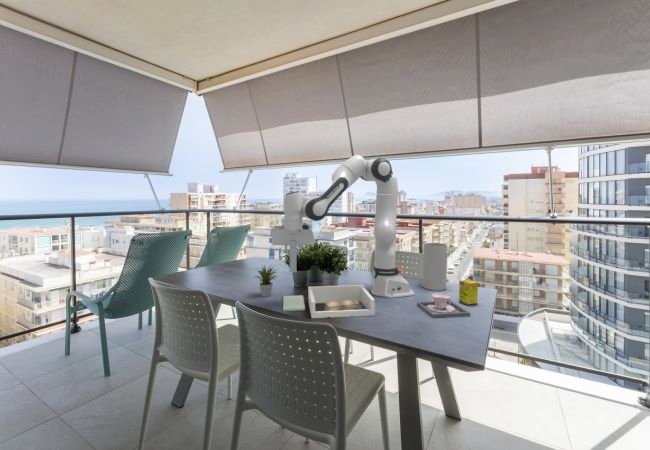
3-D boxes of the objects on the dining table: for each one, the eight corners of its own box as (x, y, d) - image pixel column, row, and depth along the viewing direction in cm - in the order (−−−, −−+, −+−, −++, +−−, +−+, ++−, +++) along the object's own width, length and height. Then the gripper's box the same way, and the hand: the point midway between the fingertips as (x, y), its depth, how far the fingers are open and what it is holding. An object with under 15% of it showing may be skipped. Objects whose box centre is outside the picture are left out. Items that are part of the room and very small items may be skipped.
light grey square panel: (296, 272, 152) (296, 242, 151) (289, 272, 152) (289, 242, 151) (295, 265, 166) (295, 238, 165) (289, 265, 166) (289, 238, 165)
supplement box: (458, 302, 162) (459, 280, 161) (468, 301, 164) (468, 279, 163) (467, 306, 156) (468, 283, 155) (477, 304, 158) (478, 282, 157)
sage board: (303, 297, 171) (303, 295, 171) (305, 310, 151) (305, 308, 151) (283, 297, 170) (283, 296, 170) (283, 311, 150) (283, 308, 150)
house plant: (274, 300, 165) (273, 268, 164) (248, 299, 168) (247, 267, 167) (283, 292, 179) (282, 262, 178) (259, 291, 182) (258, 262, 181)
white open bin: (363, 300, 166) (363, 284, 165) (374, 315, 144) (374, 297, 143) (308, 302, 163) (308, 286, 162) (311, 318, 141) (311, 300, 140)
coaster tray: (450, 303, 160) (450, 300, 159) (470, 316, 143) (470, 312, 143) (417, 305, 158) (417, 302, 157) (432, 317, 141) (432, 314, 141)
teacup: (422, 308, 154) (422, 295, 153) (436, 303, 161) (436, 290, 161) (445, 315, 144) (446, 301, 144) (459, 309, 152) (460, 296, 152)
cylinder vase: (448, 291, 180) (449, 246, 178) (424, 290, 182) (425, 245, 180) (443, 285, 192) (444, 243, 190) (421, 284, 194) (422, 242, 192)
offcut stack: (354, 308, 154) (354, 299, 153) (360, 313, 148) (360, 303, 147) (324, 312, 149) (324, 302, 149) (328, 317, 143) (328, 306, 143)
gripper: (270, 226, 153) (270, 255, 154) (314, 226, 155) (314, 255, 156) (271, 225, 159) (271, 253, 160) (313, 225, 161) (313, 253, 163)
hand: (293, 254), depth 158 cm, fingers closed on light grey square panel, 3 cm apart
